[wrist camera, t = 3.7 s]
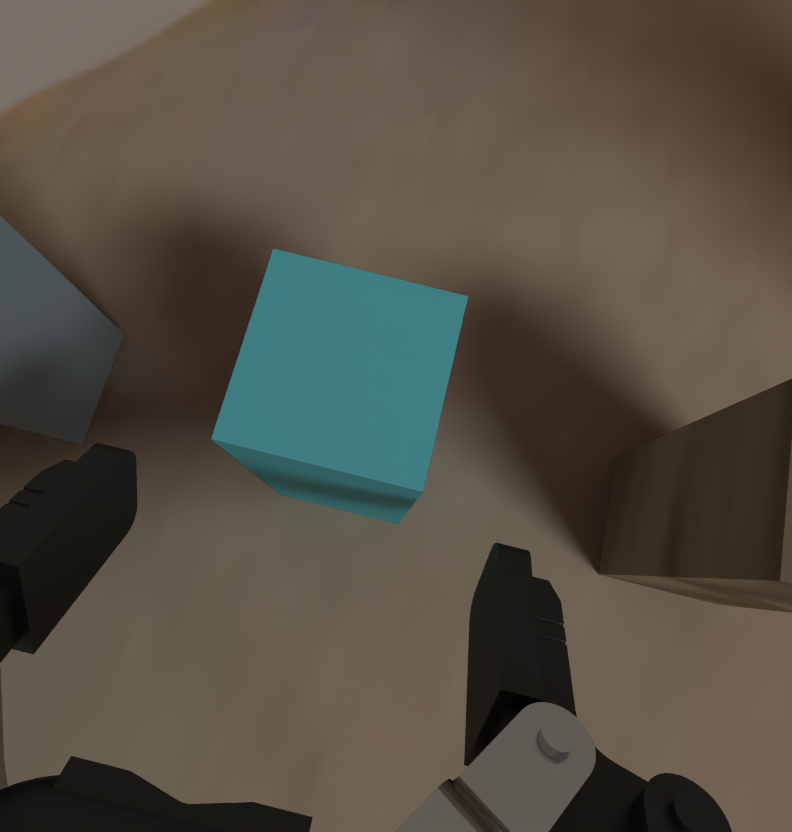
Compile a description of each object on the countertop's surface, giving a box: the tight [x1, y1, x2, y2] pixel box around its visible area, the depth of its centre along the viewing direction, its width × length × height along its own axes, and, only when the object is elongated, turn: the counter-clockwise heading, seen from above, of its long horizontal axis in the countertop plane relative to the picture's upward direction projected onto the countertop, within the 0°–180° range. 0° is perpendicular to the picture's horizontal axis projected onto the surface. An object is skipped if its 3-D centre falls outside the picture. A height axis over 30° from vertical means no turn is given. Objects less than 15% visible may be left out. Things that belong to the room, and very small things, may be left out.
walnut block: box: [599, 379, 792, 612], centre depth 18 cm, size 4×4×10 cm
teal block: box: [211, 249, 468, 524], centre depth 18 cm, size 4×4×10 cm
